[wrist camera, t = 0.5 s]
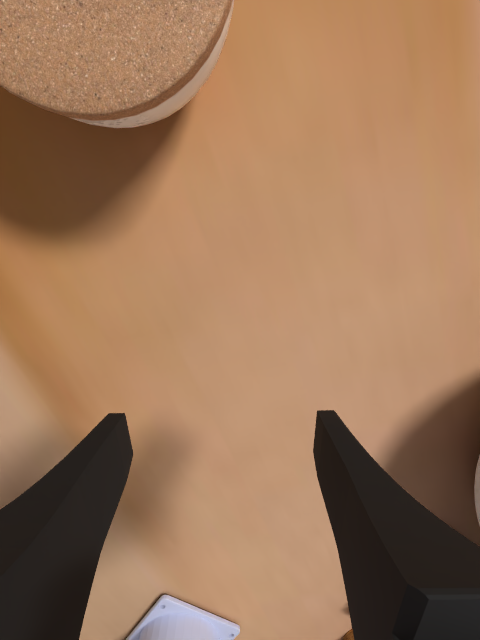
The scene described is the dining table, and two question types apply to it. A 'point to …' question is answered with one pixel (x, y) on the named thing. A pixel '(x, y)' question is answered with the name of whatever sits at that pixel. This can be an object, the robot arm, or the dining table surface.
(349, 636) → the brass cylinder
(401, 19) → the dining table surface
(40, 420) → the dining table surface
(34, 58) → the lidded jar
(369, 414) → the dining table surface
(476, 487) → the serving bowl
